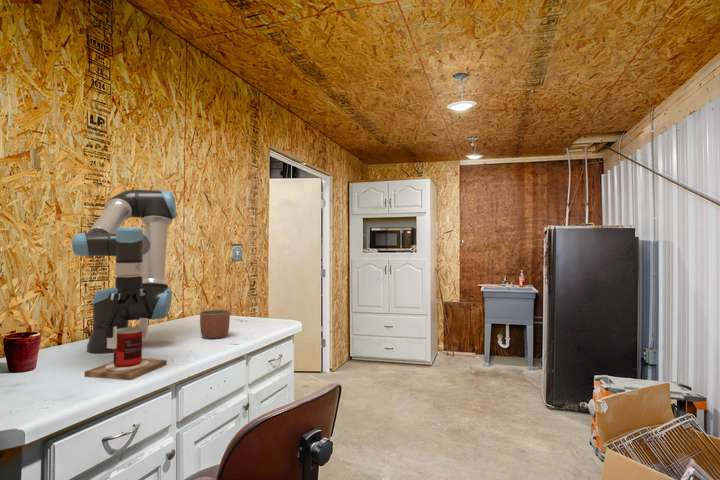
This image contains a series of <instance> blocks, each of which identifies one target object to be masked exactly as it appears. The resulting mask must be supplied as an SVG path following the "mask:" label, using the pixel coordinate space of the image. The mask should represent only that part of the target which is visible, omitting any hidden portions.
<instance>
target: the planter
mask: <svg viewBox="0 0 720 480" xmlns="http://www.w3.org/2000/svg"><path fill="white" fill-rule="evenodd" d="M230 320H231V311H230V310H228V309H209V310H208V309H207V310H202V311H201V312H199V325H200V335H201V336H202V337H203V338H205V339H208V340H209V339H210V340H214V339H221V338H222V339H223V338H225V337H226V336H227V335H228V334H229V332H230V324H231V323H230Z"/></svg>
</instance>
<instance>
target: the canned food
mask: <svg viewBox="0 0 720 480" xmlns="http://www.w3.org/2000/svg"><path fill="white" fill-rule="evenodd" d="M142 359H143V338H142V328H139V326H132V327H131V326H128V327H127V328H120V329H117V348H115V349H114V352H113V361H114V366H116V367H132V366H136V365H139V364H140V363H141V361H142Z"/></svg>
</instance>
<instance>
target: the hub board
mask: <svg viewBox="0 0 720 480" xmlns="http://www.w3.org/2000/svg"><path fill="white" fill-rule="evenodd" d="M167 362H168V361H167V360H166V359H158V358H157V359H154V358H142V361H141V363H140V364H139V365H136V366H132V367H116V366H114V360H113V361H110V362H107V363H105V364H102V365H99V366H97V367H93V368H91V369H88V370H85V371H84V377H87V378H88V377H90V378H99V379H102V378H103V379H115V380H116V379H117V380H130V381H132V380H134V379H136V378H139V377H141V376H144V375H146V374H149V373H150V372H152V371H154V370H157V369H160V368H162V367H164V366H167V364H168V363H167Z"/></svg>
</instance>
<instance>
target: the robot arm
mask: <svg viewBox="0 0 720 480" xmlns="http://www.w3.org/2000/svg"><path fill="white" fill-rule="evenodd" d="M176 205H177V204H176V199H175V195H174V193H173V192H172V191H169V190H153V189H152V190H151V189H149V190H148V189H147V190H146V189H129V190H124V191H122V192H120V193H117V194H116V195H114V196H112V197H110V198H109V200H108V201H107V202H106V203H105V206H104V211H103V212H102V213H101V215H100V216H99V217H98V218H97V220H96V221H95V223H93V225H92V226H91V228H90V229H89V230H88V232H78V233H75V234H74V235H73V237H72V240H71V248H72V252H73V254H74V255H76V256H78V257H79V256H80V257H115V267H114V268H115V269H114V270H115V271H114V273H115V276H116V277H115V282H114V283H115V286H114V287H111V288H109V287H108V288H104V289H103V288H102V289H99V290H97V291H95V292H94V294H93V302H92V307H93V308H92V331H91V334H90V336H89V341H88V342H87V344H86V352H87V353H92V354H105V353H106V354H107V353H114V349H115V348H117V329H120V328H127V327H129V321H138V322H139V323H138V325H139V326H138V327H139V328H142V339H147V338H149V322H150V321H149V320H161V319H165V318H166V317H167V316H168V315H169V312H170V309H171V305H172V296H173V291H172V289H170V288H169V284H168V283H167V282H166V281H165V277H166V276H165V275H166V260H167V243H168V228H169V226H170V225H171V224H172V223H173V220H174V219H177V207H176ZM129 218H140V220H141V222H142V223H143V225H144V229H143V228H141V227H128V226H127V227H123V226H122V225H123V223H124V222H125V221H127V220H129ZM143 230H144V232H143Z"/></svg>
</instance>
